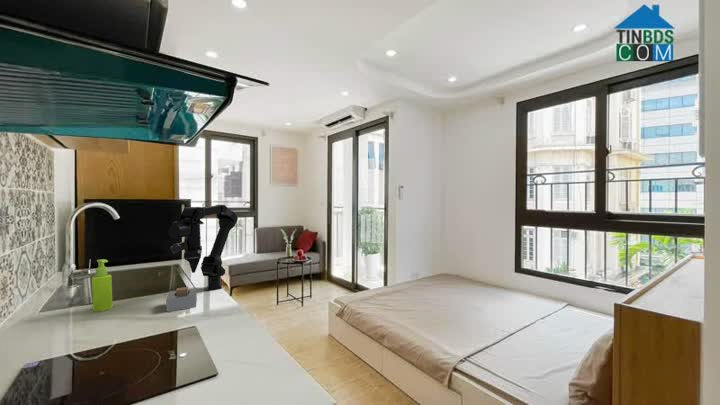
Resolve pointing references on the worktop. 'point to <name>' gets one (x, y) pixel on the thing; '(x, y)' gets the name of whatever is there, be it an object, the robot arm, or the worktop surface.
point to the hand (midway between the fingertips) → (194, 270)
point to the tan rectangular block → (182, 291)
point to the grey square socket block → (181, 300)
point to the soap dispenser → (102, 288)
